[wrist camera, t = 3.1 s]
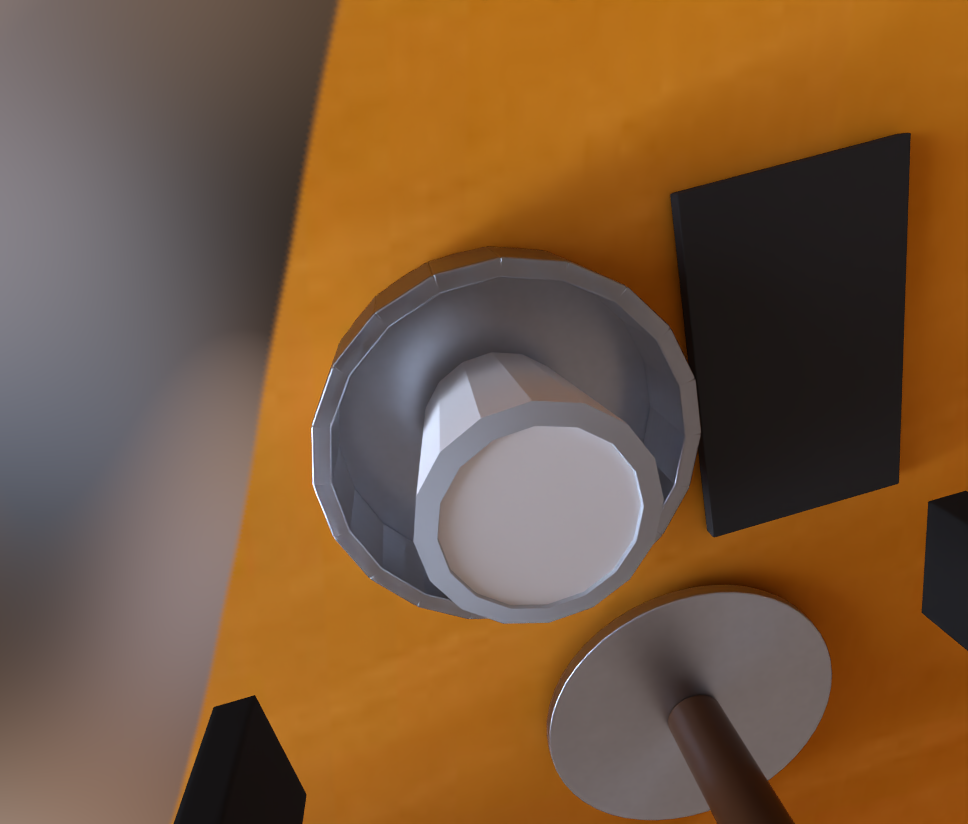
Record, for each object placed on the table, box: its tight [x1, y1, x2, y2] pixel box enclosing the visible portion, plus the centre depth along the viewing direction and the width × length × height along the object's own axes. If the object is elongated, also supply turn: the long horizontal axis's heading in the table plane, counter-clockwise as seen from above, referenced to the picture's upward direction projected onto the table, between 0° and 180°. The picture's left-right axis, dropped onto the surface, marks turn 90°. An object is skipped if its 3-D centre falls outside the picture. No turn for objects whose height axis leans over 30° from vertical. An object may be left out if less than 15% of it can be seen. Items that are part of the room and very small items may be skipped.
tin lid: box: [547, 585, 832, 824], centre depth 25 cm, size 14×14×8 cm
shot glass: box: [413, 352, 664, 623], centre depth 19 cm, size 7×7×7 cm
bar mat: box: [670, 133, 911, 537], centre depth 23 cm, size 8×14×1 cm, turn 13°
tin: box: [311, 247, 701, 619], centre depth 21 cm, size 13×13×3 cm
